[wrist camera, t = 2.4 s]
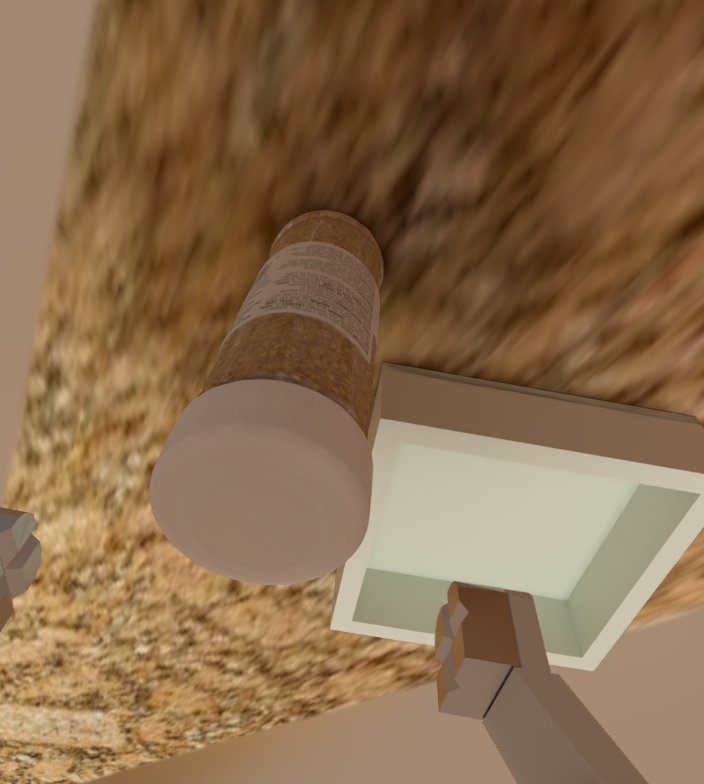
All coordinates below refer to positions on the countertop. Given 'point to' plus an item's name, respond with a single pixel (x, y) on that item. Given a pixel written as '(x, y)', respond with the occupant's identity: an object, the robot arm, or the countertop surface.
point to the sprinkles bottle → (283, 416)
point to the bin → (519, 508)
